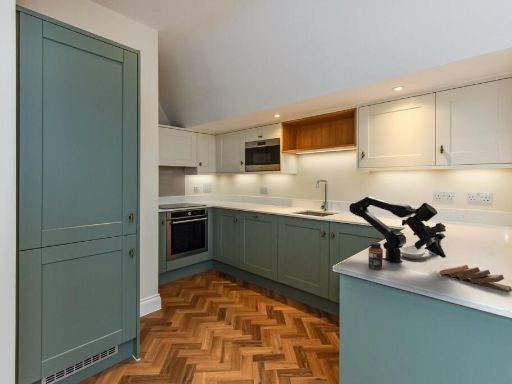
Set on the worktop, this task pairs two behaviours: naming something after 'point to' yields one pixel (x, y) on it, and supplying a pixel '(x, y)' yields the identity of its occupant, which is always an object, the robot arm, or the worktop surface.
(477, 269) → the walnut domino
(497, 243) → the worktop surface
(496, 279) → the walnut domino
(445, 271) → the terracotta domino
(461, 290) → the worktop surface
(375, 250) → the supplement bottle
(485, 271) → the walnut domino
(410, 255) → the spoon rest
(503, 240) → the worktop surface
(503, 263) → the worktop surface
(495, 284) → the walnut domino
